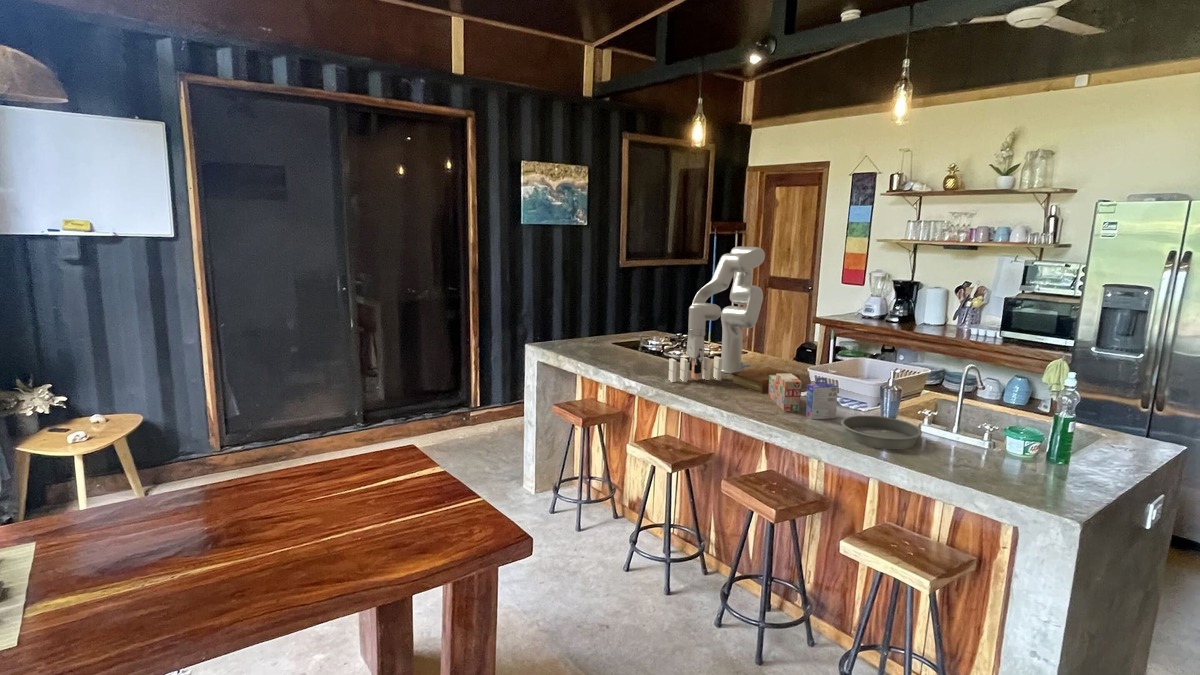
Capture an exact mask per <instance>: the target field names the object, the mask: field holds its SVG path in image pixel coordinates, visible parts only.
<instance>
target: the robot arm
mask: <svg viewBox="0 0 1200 675" xmlns="http://www.w3.org/2000/svg"><path fill="white" fill-rule="evenodd" d="M730 250H731V251H730V252H729V253H728V252H727V253H724V254H722V255H721V257H720V258H719V261H718V263H717V265H716V267H715V271H714V273H713V275H712V277H711V279H710V281H709V282H708V283H706V284H705V285H704V286H703V287H701V288H700V289H699V290H698V291H697V292H696V294H695V296H694V298H693V300H692V304H691V305H690V306H689V307H688V326H687V327H688V329H687V330H688V332H687V340H686V341H687V343H686V355H687V356H688V357H689V360H688V371H690V372H691V367H692V358H694V359H695V365H694V373H695V374H698V373H699V374H702V366H703V357H705V336H706V321H716V320H719V318H720V321H721V327H722V330H721V331H722V332H721V333H722V337H721V354H720V355H721V356H720V358H722V372H721V373H723V374H730V375H731V373H732V372H738V371H745V368H750V367H751V363H750V362H744V361H742V356H743V355H742V353H743V351H742V350H743V332H742V329H741V328H743V329H751V328H754V327H755V326H756V324H757V322H758V319H759V315H760V312H761V308H762V304H763V300H764V292H763V290H762V288H761V287H759V285H758V286H757V285H754V284H753V285H752V283H753V278H754V274H753V271H752V270H753V269H755V268H757V267H759V266H761V265H762V264H764V261H765V258H766V253H765V251H764V249H763V248H761V247H757V246H735V247H733V248H731V249H730ZM733 278H734V279H733ZM732 279H733V280H732ZM732 281H733V282H732ZM731 282H732V284H731ZM730 284H731V285H732V286H731V289H730V293H729V300H730V302H732V303H733V304H735V305H736V306H735V305H728V306H725V307H724V308H721V307H720V306H719V305H717V304H715V303H708V302H707V300H708V299H709V298H710V297H712V296H713V295H716V294H718V293H721V292H723V291H726V290H727V289H728V288H729V286H730ZM737 305H742V306H737ZM745 306H746V307H745ZM697 357H698V358H697ZM697 359H699V360H698V361H697Z"/></svg>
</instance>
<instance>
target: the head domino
mask: <svg viewBox="0 0 1200 675" xmlns="http://www.w3.org/2000/svg"><path fill="white" fill-rule="evenodd" d="M669 380H670V381H669ZM668 381H669V382H671V383H672V382H676V383H677V360H676V359H674V358H668Z"/></svg>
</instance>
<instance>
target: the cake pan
mask: <svg viewBox="0 0 1200 675" xmlns="http://www.w3.org/2000/svg"><path fill="white" fill-rule="evenodd" d="M840 422H841V425H842V426H843V428H844V433H845V436H846V438H848V440H850V439H851V440H850V441H853V442H854V443H857V444H859V445H863V446H866V447H872V448H875V449H881V450H882V449H883V450H884V449H885V450H904V449H909V448H912V447H914V446H915V444H916V442H917V439H918V438H919V437H920V436H921V435H922V434H923V431H922V430H921V428H920V427H918V426H917V425H915V424H913V423H910V422H908V421H904V420H901V419H898V418H893V417H887V416H878V415H868V414H867V415H864V414H863V415H851V416H847V417H845V418H843V419H841V421H840ZM856 428H858V429H877V430H884V431H879V432H865V431H860V432H858V431H859V430H856Z"/></svg>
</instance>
